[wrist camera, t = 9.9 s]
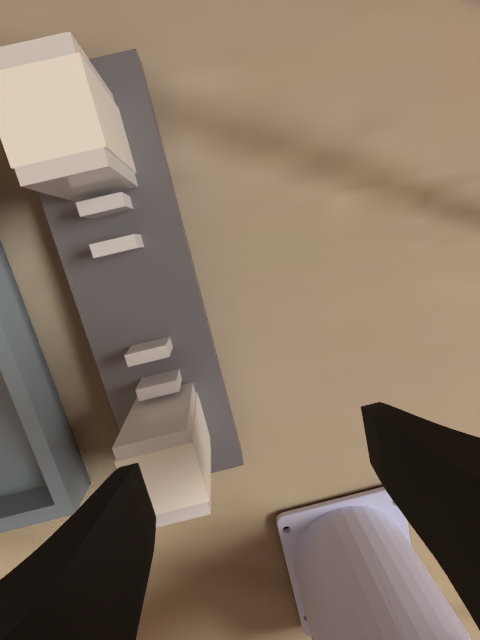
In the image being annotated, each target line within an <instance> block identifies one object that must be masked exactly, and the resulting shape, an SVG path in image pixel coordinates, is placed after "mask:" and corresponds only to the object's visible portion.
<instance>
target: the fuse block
mask: <svg viewBox="0 0 480 640" xmlns="http://www.w3.org/2000/svg"><path fill="white" fill-rule="evenodd" d="M89 61H90V62H91V63H92V65H93V66H94V68H95V69H96V71H97V72H98V74H99V75H100V77H101V78H102V80H103V81H104V82H105V84H106V85H107V87H108V88H109V90H110V91H111V93H112V94H113V98H114V102H115V104H116V105H117V106H118V108H119V111H120V115H121V118H122V122H123V125H124V129H125V133H126V136H127V140H128V143H129V147H130V151H131V154H132V158H133V161H134V165H135V169H136V172H137V173H136V174H135V177H136V180H137V184H138V187H137V188H132V189H128V190H124V191H119V192H115V193H111V194H107V195H102V196H98V197H94V198H89V199H85V200H81V201H77V202H74V201H71V200H67V199H63V198H60V197H56V196H53V195H49V194H45V193H42V192H38V194H39V197H40V200H41V203H42V206H43V209H44V212H45V215H46V218H47V221H48V224H49V227H50V230H51V233H52V236H53V238H54V241H55V244H56V247H57V250H58V253H59V256H60V259H61V262H62V265H63V268H64V271H65V274H66V277H67V280H68V283H69V286H70V288H71V291H72V294H73V297H74V300H75V303H76V306H77V309H78V312H79V315H80V318H81V321H82V324H83V327H84V330H85V333H86V336H87V339H88V341H89V344H90V347H91V350H92V353H93V356H94V359H95V362H96V365H97V368H98V371H99V374H100V377H101V380H102V383H103V386H104V389H105V392H106V394H107V397H108V400H109V403H110V406H111V409H112V412H113V415H114V418H115V421H116V424H117V427H118V430H119V433H120V431H121V429H122V426H123V424H124V422H125V420H126V418H127V416H128V414H129V412H130V410H131V408H132V406H133V404H134V401H135V399H136V397H138V400H139V401H143V400H147V399H151V398H155V397H159V396H163V395H167V394H171V393H175V392H179V391H180V387H181V385H183V384H187V383H191V382H193V385H194V388H195V392H198V396H199V399H200V403H201V406H202V410H203V414H204V417H205V421H206V424H207V428H208V432H209V435H210V446H211V473H213V472H217V471H221V470H225V469H229V468H233V467H237V466H241V465H244V464H243V457H242V451H241V447H240V443H239V439H238V435H237V432H236V428H235V424H234V420H233V416H232V412H231V408H230V405H229V401H228V397H227V393H226V389H225V385H224V381H223V377H222V374H221V370H220V366H219V362H218V358H217V354H216V350H215V346H214V343H213V339H212V335H211V331H210V327H209V323H208V319H207V315H206V312H205V308H204V304H203V300H202V296H201V292H200V288H199V284H198V281H197V277H196V273H195V269H194V265H193V261H192V257H191V254H190V250H189V246H188V242H187V238H186V234H185V230H184V226H183V223H182V219H181V215H180V211H179V207H178V203H177V199H176V195H175V192H174V188H173V184H172V180H171V176H170V172H169V168H168V164H167V161H166V157H165V153H164V149H163V145H162V141H161V137H160V134H159V130H158V126H157V122H156V118H155V114H154V110H153V106H152V103H151V99H150V95H149V91H148V87H147V83H146V79H145V75H144V72H143V68H142V64H141V61H140V58H139V56H138V53H137V51H136V49H133V50H128V51H124V52H119V53H115V54H110V55H106V56H102V57H97V58H93V59H89Z"/></svg>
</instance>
